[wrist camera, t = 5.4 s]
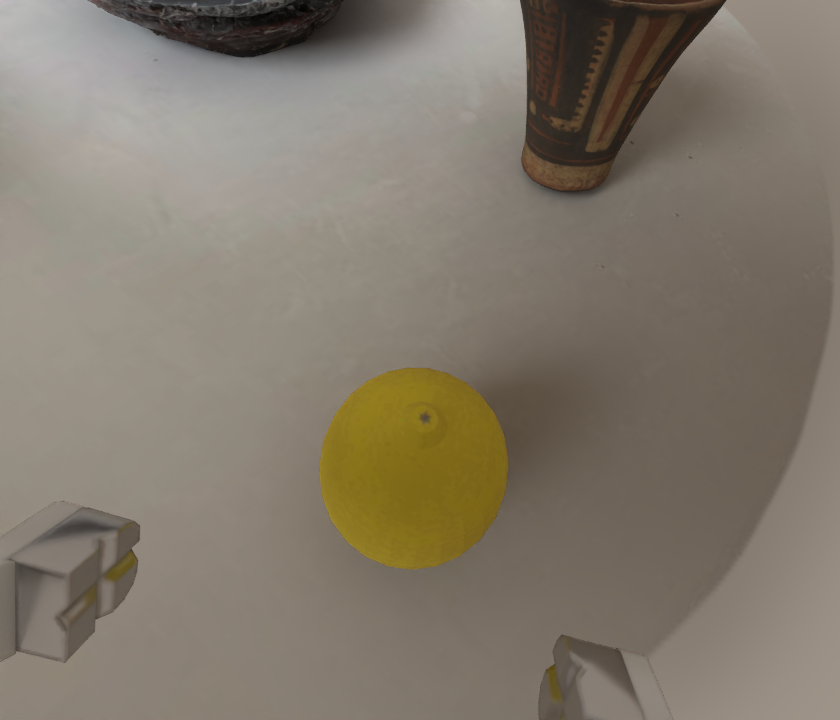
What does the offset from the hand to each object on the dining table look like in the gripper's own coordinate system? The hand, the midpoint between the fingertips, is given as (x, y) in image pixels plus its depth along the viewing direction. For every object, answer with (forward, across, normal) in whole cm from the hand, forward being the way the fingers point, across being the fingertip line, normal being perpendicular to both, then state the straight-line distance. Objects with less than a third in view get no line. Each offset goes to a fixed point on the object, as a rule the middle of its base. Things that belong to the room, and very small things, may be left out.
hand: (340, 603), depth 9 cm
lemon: (+9, -1, +3) cm, 9 cm away
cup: (+24, -4, -12) cm, 27 cm away
